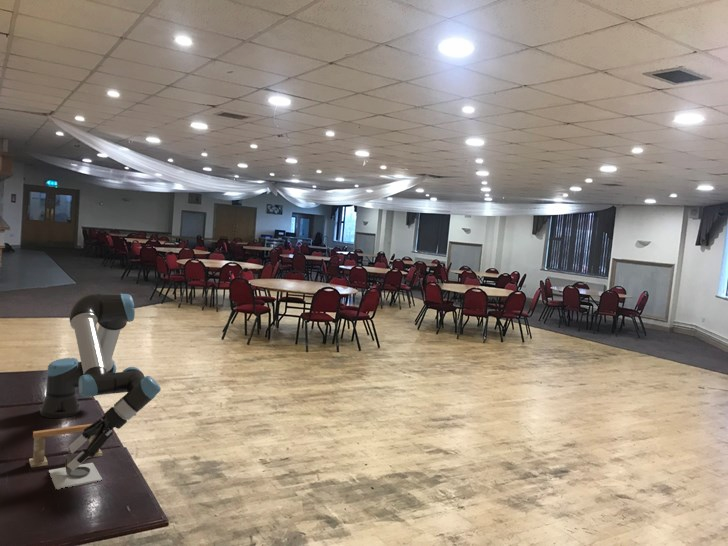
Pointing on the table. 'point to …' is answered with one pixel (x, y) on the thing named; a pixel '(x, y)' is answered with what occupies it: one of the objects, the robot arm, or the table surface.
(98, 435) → the robot arm
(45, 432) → the bar
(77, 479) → the mat
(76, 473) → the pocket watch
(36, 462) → the posts
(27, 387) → the table surface
